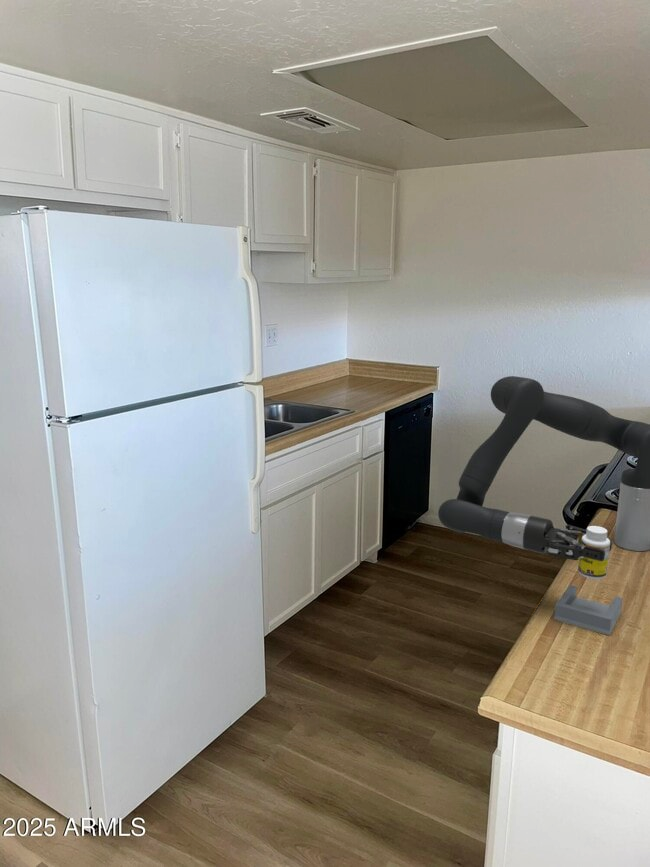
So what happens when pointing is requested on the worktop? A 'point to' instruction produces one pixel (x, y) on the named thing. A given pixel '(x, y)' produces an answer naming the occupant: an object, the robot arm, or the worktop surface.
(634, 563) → the worktop surface
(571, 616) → the u rest
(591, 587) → the worktop surface
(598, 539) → the supplement bottle
